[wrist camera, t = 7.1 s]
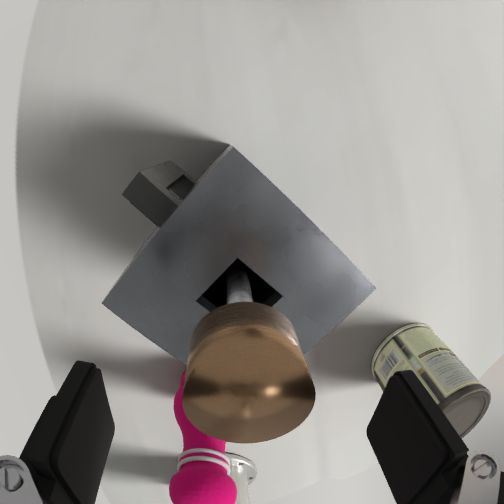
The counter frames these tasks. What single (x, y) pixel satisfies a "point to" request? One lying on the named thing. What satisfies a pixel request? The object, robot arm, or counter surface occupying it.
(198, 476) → the pepper mill
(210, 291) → the press
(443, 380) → the coffee can
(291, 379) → the plunger
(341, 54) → the counter surface
